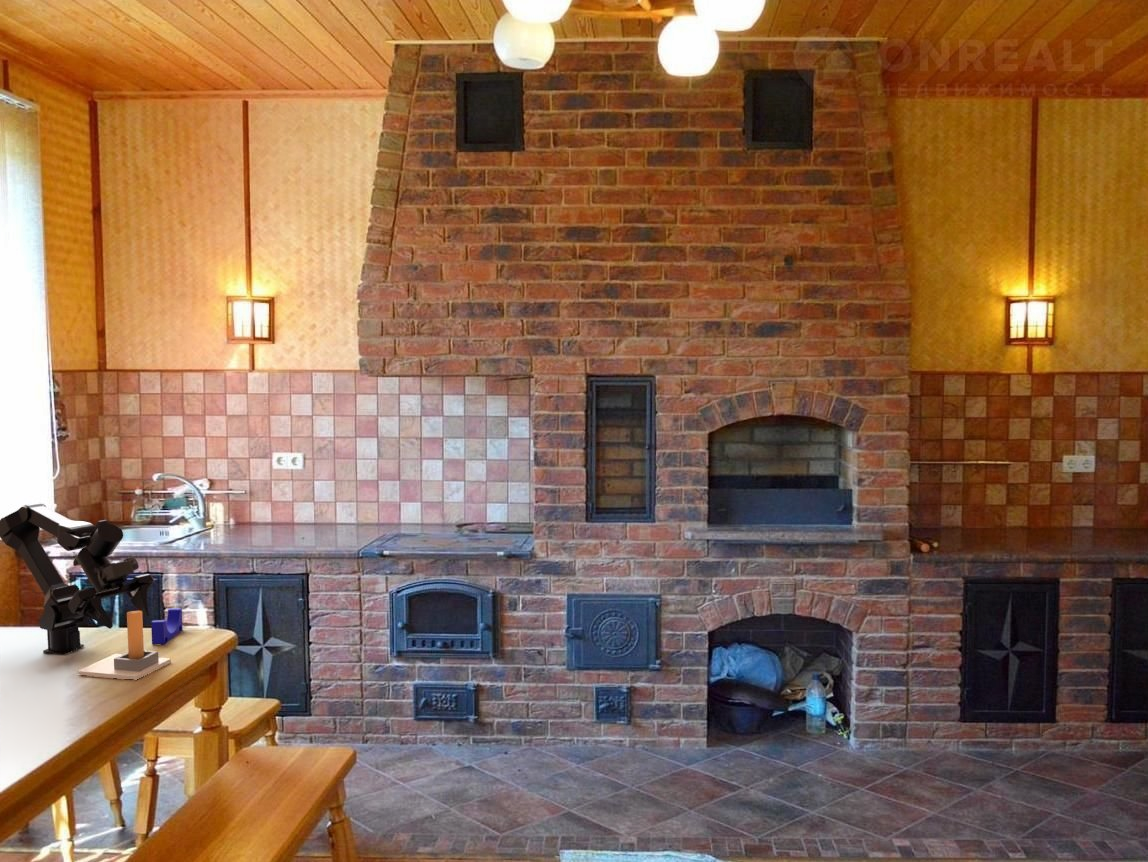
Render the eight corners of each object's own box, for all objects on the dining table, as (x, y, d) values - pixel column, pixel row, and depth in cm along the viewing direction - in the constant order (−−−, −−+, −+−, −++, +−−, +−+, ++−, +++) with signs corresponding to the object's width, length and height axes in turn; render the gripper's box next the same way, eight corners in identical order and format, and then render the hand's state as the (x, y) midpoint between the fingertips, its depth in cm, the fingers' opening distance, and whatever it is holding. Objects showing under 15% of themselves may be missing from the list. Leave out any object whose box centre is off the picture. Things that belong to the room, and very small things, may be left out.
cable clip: (165, 630, 243) (164, 608, 242) (182, 630, 243) (181, 608, 242) (145, 645, 231) (145, 622, 230) (164, 645, 231) (163, 622, 230)
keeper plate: (78, 675, 210) (77, 660, 209) (115, 657, 221) (114, 643, 221) (136, 680, 206) (135, 665, 206) (170, 662, 218) (170, 648, 218)
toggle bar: (126, 668, 211) (124, 614, 210) (131, 663, 214) (129, 610, 213) (141, 667, 212) (139, 614, 211) (146, 662, 215) (144, 610, 214)
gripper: (73, 555, 206) (106, 611, 202) (148, 540, 222) (180, 592, 218) (54, 585, 210) (86, 641, 206) (128, 568, 227) (159, 619, 222)
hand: (129, 622), depth 213 cm, fingers open, 9 cm apart
